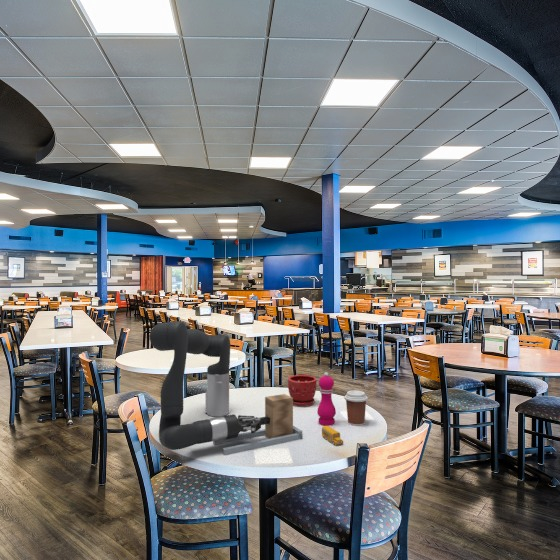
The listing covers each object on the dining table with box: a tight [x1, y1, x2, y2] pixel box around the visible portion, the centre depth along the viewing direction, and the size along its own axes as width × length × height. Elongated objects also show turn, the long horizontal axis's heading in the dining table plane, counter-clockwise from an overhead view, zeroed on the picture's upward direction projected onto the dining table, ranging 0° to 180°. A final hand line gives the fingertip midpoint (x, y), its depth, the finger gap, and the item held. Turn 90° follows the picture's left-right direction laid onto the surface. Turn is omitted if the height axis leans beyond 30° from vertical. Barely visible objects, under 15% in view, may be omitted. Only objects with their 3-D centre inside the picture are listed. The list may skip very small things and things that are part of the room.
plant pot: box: [287, 374, 317, 407], centre depth 188 cm, size 13×13×12 cm
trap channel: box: [212, 425, 303, 456], centre depth 141 cm, size 29×11×3 cm, turn 119°
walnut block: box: [264, 393, 294, 439], centre depth 145 cm, size 8×6×14 cm
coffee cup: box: [343, 389, 369, 427], centre depth 160 cm, size 9×9×12 cm
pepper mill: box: [317, 371, 337, 426], centre depth 160 cm, size 7×7×20 cm
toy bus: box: [321, 425, 344, 446], centre depth 142 cm, size 3×10×4 cm, turn 23°
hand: (268, 419), depth 143 cm, fingers closed
